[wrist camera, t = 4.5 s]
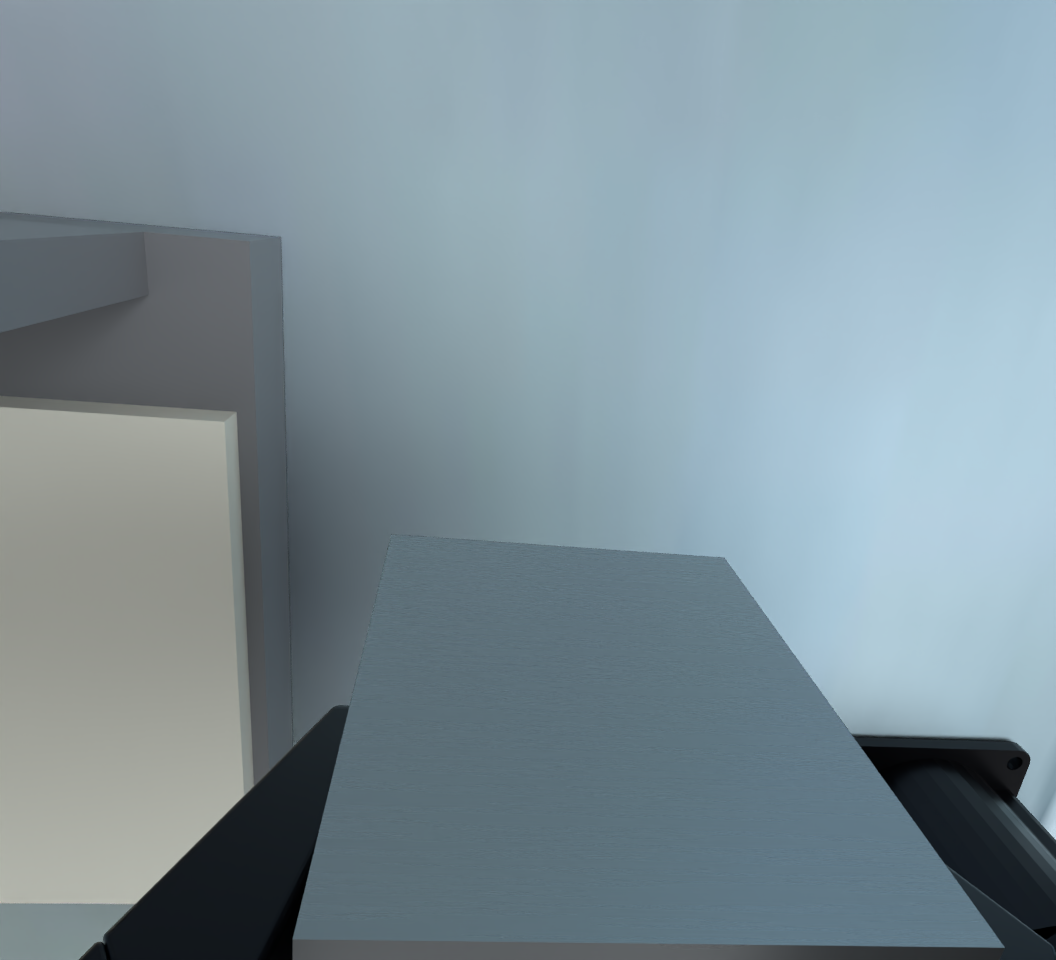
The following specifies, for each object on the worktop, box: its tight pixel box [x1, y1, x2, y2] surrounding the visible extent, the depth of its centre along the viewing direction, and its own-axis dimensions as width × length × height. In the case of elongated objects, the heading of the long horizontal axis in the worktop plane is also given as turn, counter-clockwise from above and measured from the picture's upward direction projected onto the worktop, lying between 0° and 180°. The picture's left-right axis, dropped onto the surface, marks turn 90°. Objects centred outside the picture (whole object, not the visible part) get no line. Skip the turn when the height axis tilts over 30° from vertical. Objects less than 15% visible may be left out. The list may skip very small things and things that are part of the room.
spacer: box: [293, 534, 1005, 960], centre depth 7 cm, size 4×4×5 cm
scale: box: [0, 212, 293, 904], centre depth 15 cm, size 9×17×8 cm, turn 175°
